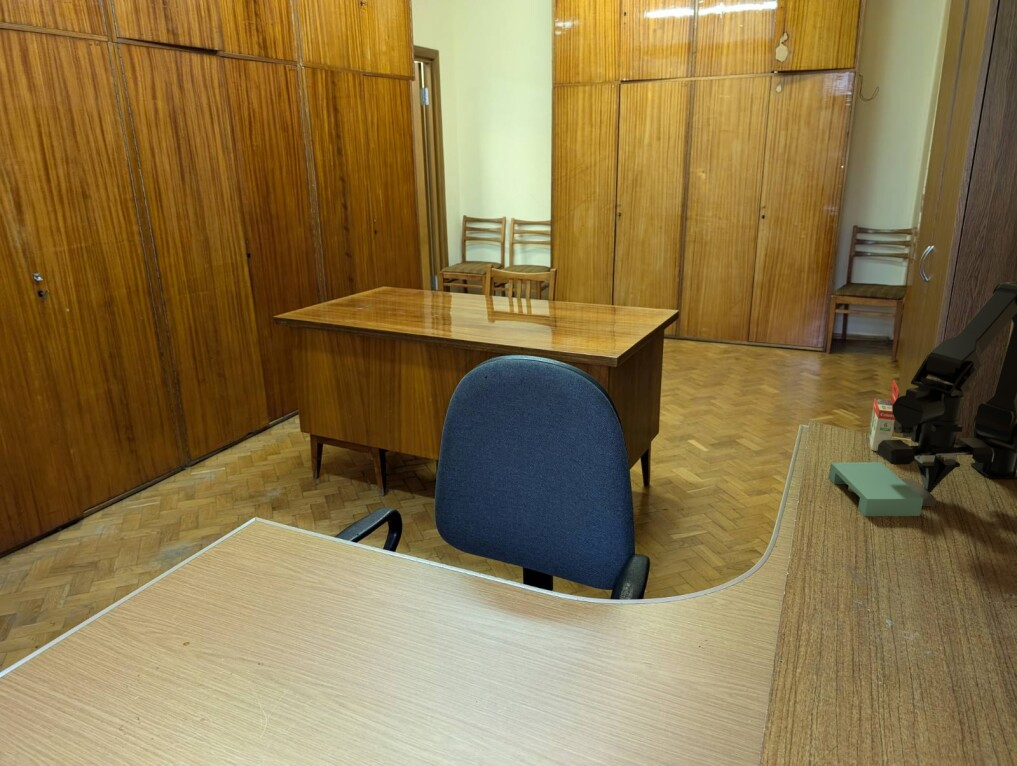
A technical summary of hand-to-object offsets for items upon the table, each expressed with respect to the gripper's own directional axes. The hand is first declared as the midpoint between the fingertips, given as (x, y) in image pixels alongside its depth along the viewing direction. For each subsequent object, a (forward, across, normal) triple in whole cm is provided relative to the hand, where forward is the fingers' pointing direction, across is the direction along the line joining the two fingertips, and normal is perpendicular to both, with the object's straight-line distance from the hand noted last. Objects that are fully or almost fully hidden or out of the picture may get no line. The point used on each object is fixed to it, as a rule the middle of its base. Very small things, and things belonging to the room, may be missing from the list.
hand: (927, 491), depth 132 cm
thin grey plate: (+1, +6, 0) cm, 6 cm away
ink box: (+1, -3, -24) cm, 24 cm away
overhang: (+1, +10, 0) cm, 10 cm away
